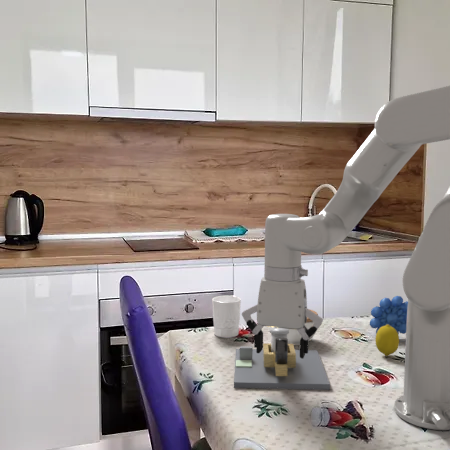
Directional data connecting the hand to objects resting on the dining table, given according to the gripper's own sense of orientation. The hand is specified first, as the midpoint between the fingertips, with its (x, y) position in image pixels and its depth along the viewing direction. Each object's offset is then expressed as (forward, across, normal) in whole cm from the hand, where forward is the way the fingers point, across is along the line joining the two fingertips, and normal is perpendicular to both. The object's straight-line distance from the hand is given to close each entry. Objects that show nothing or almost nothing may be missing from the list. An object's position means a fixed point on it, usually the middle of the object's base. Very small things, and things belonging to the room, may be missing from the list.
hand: (280, 353), depth 109 cm
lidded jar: (+7, +1, -29) cm, 30 cm away
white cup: (+7, +21, -28) cm, 36 cm away
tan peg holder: (+5, +1, -5) cm, 7 cm away
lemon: (+7, -22, -24) cm, 33 cm away
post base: (+7, +2, -8) cm, 10 cm away
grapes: (+7, -23, -39) cm, 46 cm away
